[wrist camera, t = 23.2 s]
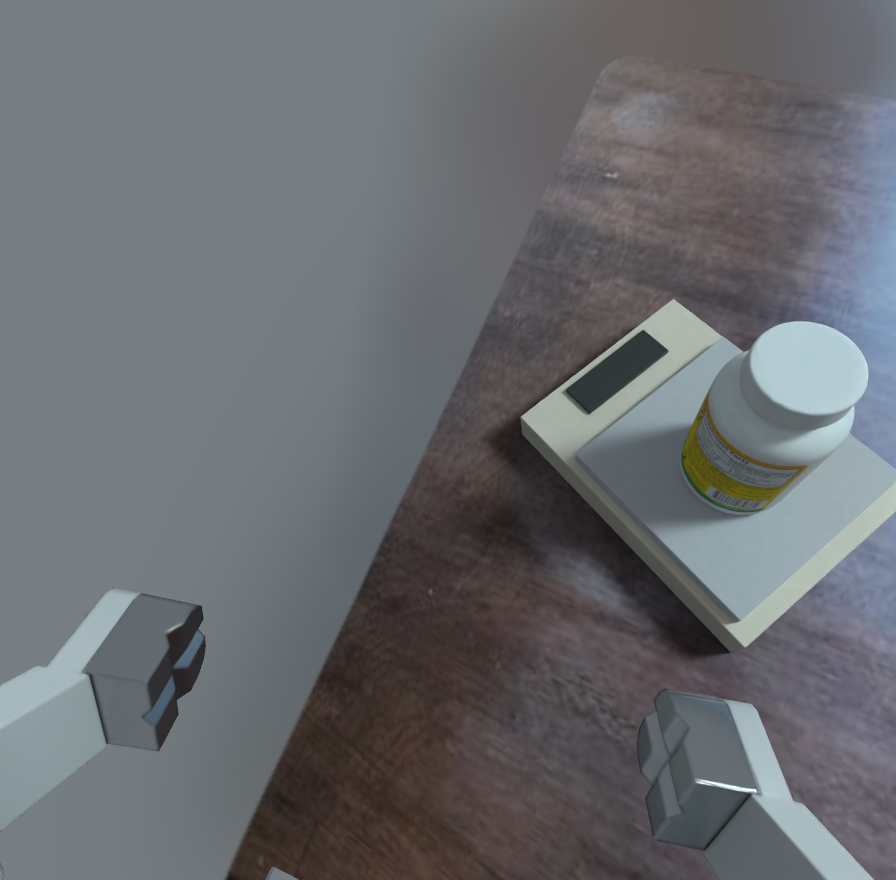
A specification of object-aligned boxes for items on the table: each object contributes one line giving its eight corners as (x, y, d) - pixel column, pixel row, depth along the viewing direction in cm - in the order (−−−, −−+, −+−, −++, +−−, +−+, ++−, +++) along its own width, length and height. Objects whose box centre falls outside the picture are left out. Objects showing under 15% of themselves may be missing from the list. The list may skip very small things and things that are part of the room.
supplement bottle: (714, 534, 29) (784, 457, 20) (657, 443, 31) (698, 339, 23) (815, 491, 29) (927, 395, 20) (750, 403, 31) (826, 285, 23)
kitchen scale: (521, 434, 36) (519, 410, 33) (666, 322, 38) (675, 289, 35) (731, 653, 29) (750, 646, 27) (895, 504, 31) (930, 483, 28)
